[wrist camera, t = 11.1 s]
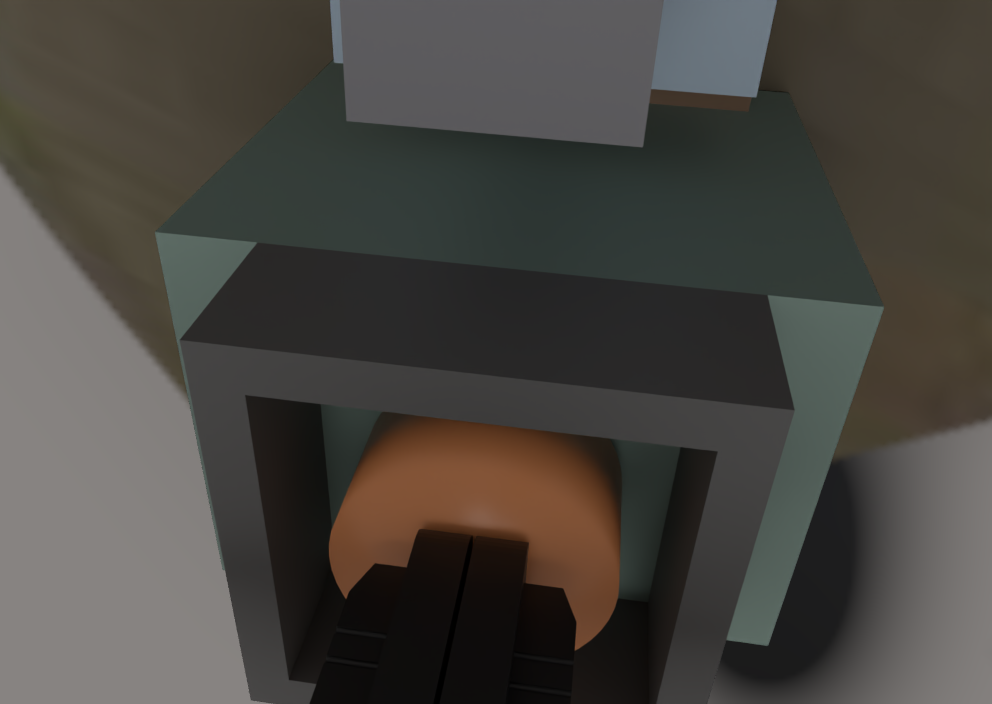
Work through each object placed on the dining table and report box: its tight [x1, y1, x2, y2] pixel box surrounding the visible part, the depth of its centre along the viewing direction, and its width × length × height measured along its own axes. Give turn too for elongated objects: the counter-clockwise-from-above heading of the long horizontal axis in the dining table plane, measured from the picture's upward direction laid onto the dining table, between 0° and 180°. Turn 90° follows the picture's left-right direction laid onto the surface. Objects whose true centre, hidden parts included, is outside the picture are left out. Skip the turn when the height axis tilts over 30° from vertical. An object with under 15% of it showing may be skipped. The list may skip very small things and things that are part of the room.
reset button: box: [329, 412, 622, 650], centre depth 13 cm, size 4×4×2 cm
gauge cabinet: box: [155, 60, 884, 704], centre depth 16 cm, size 7×10×12 cm, turn 88°
